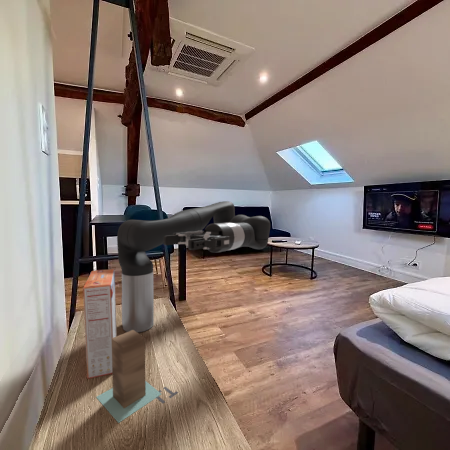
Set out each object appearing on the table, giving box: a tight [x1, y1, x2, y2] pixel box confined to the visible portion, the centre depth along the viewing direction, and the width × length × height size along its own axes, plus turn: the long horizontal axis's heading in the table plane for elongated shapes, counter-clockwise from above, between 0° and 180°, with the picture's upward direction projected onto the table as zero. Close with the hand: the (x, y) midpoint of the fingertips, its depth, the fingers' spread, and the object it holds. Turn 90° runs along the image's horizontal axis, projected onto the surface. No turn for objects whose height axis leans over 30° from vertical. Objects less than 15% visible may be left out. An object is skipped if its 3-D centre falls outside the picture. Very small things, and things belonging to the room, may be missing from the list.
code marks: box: [156, 386, 179, 404], centre depth 51 cm, size 3×4×1 cm
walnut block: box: [111, 330, 146, 408], centre depth 50 cm, size 4×4×12 cm
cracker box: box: [82, 268, 118, 380], centre depth 62 cm, size 14×6×21 cm, turn 21°
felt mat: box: [96, 380, 162, 424], centre depth 51 cm, size 9×9×1 cm
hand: (176, 242), depth 56 cm, fingers open, 8 cm apart
